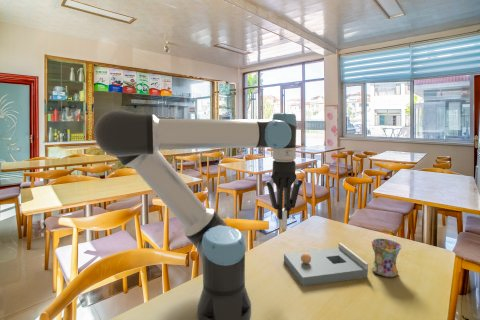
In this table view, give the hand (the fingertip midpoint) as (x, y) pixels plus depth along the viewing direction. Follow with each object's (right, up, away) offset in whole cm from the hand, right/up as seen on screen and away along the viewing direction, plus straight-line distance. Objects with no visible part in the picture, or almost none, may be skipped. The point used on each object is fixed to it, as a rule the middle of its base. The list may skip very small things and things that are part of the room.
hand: (283, 227), depth 100 cm
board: (+16, -16, +6) cm, 23 cm away
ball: (+9, -14, +4) cm, 17 cm away
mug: (+36, -17, +5) cm, 40 cm away
